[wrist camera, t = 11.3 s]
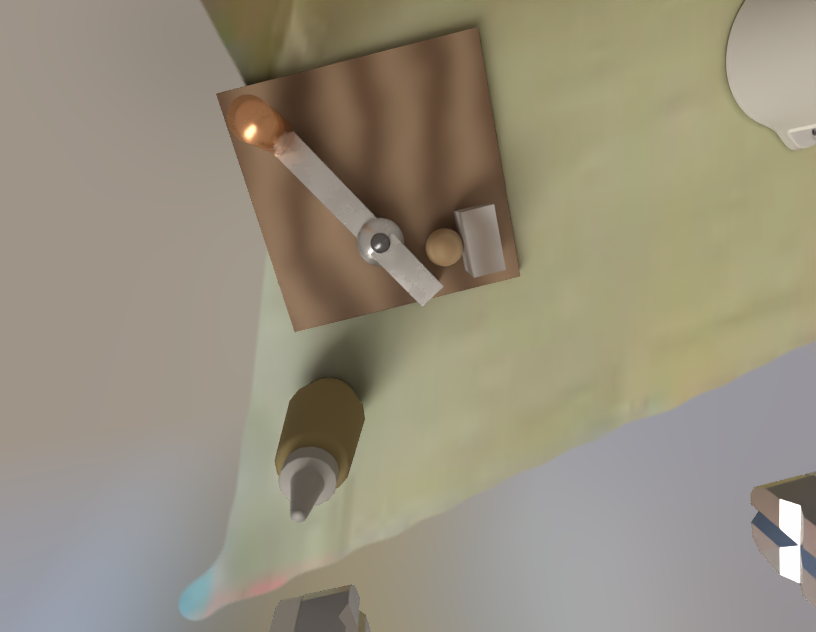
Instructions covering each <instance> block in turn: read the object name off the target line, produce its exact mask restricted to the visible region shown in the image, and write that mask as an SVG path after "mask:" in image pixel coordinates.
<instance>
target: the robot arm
mask: <svg viewBox="0 0 816 632" xmlns="http://www.w3.org/2000/svg"><path fill="white" fill-rule="evenodd" d="M726 69H727V77H728V82H729V86H730V89H731V92H732V94H733V96H734V98H735V100H736V102H737V103H738V105H739V106H740V108H741V109H742V110H743V111H744V112H745V113H746V114H747V115H748V116H749V117H750V118H752V119H753V120H755V121H756V122H758V123H760V124H762V125H765V126H767V127H769V128H771V129H772V130H774V131H775V132H776V133H777V134H778V136H779V137H780V139H781V140H782V141H783V143H784V144H785V145H786V146H787V147H788V148H789V149H791V150H800V149H805V148H808V147H810V146H813V145H815V144H816V0H745V2H744V3H743V5H742V7H741V8H740V10H739V12H738V14H737V16H736V19H735V21H734V23H733V26H732V29H731V32H730V36H729V40H728V46H727V54H726ZM812 130H814V132H813V134H812ZM751 505H753V506H754V507H755V508H756V509H757V510H758V513H757V514H756V516H755V517H754V519H753V520H752V522H751V526H752V537H753V539H754V541H755V543H756V545H757V547H758V550H759V551H760V553H761V554H762V555H763V557H764V558H765V559H766V561H767V562H768V563H769V564H770V565H771V566H772V567H773V568H774V569H775V570H776V571H777V572H778V573H779V574H780V575H782V576H785V577H787V578H789V579H791V580H794V581H796V582H798V583H800V587H801V591H802V595H803V597H805V599H807V600H808V601H809V602H810V603H811V604H812V605H813V606H814V607H815V608H816V472H812V473H808V474H805V475H800V476H796V477H792V478H788V479H784V480H780V481H776V482H773V483H769V484H764V485H760V486H757V487H754V489H753V490H752V492H751ZM359 604H360V597H359V595H358V592H357V589H356V587H355V585H347V586H343V587H338V588H333V589H329V590H324V591H320V592H314V593H310V594H305V595H303V596H298V597H293V598H289V599H284V600H280V602H279V603H278V605H277V606H276V608H275V611H274V615H273V619H272V622H271V626H270V630H269V632H370V627H369V623H368V620H367V617H366V615H365V614H364V613H362V612H361V611H359Z"/></svg>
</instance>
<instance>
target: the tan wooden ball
mask: <svg viewBox="0 0 816 632" xmlns="http://www.w3.org/2000/svg"><path fill="white" fill-rule="evenodd" d="M462 252H463V242H462V239H461V237H460V236H459V235H458V234H457V233H456V232H455V231H453V230H451V229H447V228H442V229H438V230H436V231H434V232H433V233H432V234H431V235H430V236H429V237H428V239H427V242H426V253H427V256H428V258H429V259H430V260H431V261H432V262H433V263H434V264H436V265H439V266H450V265H452V264H454V263H456V262H457V261H458V260H459V259H460V257H461V255H462Z"/></svg>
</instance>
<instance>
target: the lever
mask: <svg viewBox="0 0 816 632" xmlns="http://www.w3.org/2000/svg"><path fill="white" fill-rule="evenodd" d="M227 121H228V125H229V128H230V129H231V131H232V133H233V134H234V135H235V136H236V137H237V138H238V139H240V140H242V141H244V142H246V143H249V144H251V145H253V146H256V147H258V148H261V149H263V150H265V151H268V152H270V153H273V154H274V155H275V156H276V157H277V158H278V159H279V160H280V161H281V162H282V163H283V164H284V165H285V166H286V167H287V168H288V169H289V170H290V171H291V172H292V173H293V174H294V175H295V176H296V177H297V178H298V179H299V180H300V181H301V182H302V183H303V184H304V185H305V186H306V187H307V188H308V189H309V190H310V191H311V192H312V193H313V194H314V195H315V196H316V197H317V198H318V199H319V200H320V201H321V202H322V203H323V204H324V205H325V206H326V207H327V208H328V209H329V210H330V211H331V212H332V213H333V214H334V215H335V216H336V217H337V218H338V219H339V220H340V221H341V222H342V223H343V224H344V225H345V226H346V227H347V228H348V229H349V230H350V232H351V233H352V234H353V235H354V236H355V237H356V238H357V248H358V251H359V253H360V255H361V256H362V258H363V259H364V260H365V261H367V262H368V263H370V264H372V265H375V266H382V267H383V268H384V269H385V270H386V271H387V272H388V273H389V274H390V275H391V276H392V277H393V278H394V279H395V280H396V281H397V282H398V283H399V284H400V285H401V286H402V287H403V288H404V289H405V290H406V291H407V292H408V293H409V294H410V295H411V296H412V297H413V298H414V299H415V300H416V301H417V302H418V303H419V304H420V305H421V306H424V305H425V304H426V303H427V302H428V301H429V300H430V299H431V298H432V297H433V296H434V295H435V294H436V293H437V292H438V291H439V290H441V289H442V288H443V287H444V286H443V285H442V283H441V282H440V281H439V280H438V279H437V278H436V277H435V276H434V274H433V273H432V272H431V271H430V270H429V269H428V268H427V267H426V266H425V265H424V264H423V263H422V262H421V261H420V260H419V259H418V258H417V257H416V256H415V255H414V254H413V253H412V252H411V251H410V250H409V248H408V247H407V246H406V245H405V244H404V237H403V234H402V232H401V230H400V228H399V226H398V225H397V224H396V223H395V222H393V221H392V220H390V219H388V218H383V217H376V216H375V215H374V214H373V213H372V211H371V210H370V209H369V208H368V207H367V206H366V205H365V204H364V203H363V202H362V201H361V200H360V199H359V198H358V197H357V196H356V195H355V194H354V193H353V192H352V191H351V190H350V189H349V188H348V187H347V186H346V184H345V183H344V182H343V181H342V180H341V179H340V178H339V177H338V176H337V175H336V174H335V173H334V172H333V171H332V170H331V169H330V168H329V167H328V166H327V165H326V164H325V163H324V162H323V161H322V160H321V159H320V157H319V156H318V155H317V154H316V153H315V152H314V151H313V150H312V149H311V148H310V147H309V146H308V145H307V144H306V143H305V142H304V141H303V140H302V139H301V138H300V137H299V136H298V135H297V134H296V133H295V131H294V130H293V129H292V127H291V125H290V123H289V122H288V121H287V120H286V119H285V118H284V117H283V116H282V115H280V114H279V113H278V112H277V111H276V110H274V109H273V108H272V107H271V106H269V105H268V104H267V103H266V102H265V101H263V100H262V99H261V98H259V97H257V96H255V95H250V94H245V95H241V96H239V97H237V98H235V99H234V100H233V101H232V102H231V104H230V106H229V108H228V111H227Z"/></svg>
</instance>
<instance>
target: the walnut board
mask: <svg viewBox="0 0 816 632" xmlns="http://www.w3.org/2000/svg"><path fill="white" fill-rule="evenodd" d="M245 94H250V95H255V96H257V97H259V98H261V99H262V100H263V101H265V102H266V103H267V104H268V105H269V106H271V107H272V108H273V109H274V110H276V111H277V112H278V113H279V114H280V115H282V116H283V117H284V118H285V119H286V120H287V121H288V122H289V123H290V125H291V127H292V129H293V130H294V131H295V133H296V134H297V135H298V136H299V137H300V138H301V139H302V140H303V141H304V142H305V143H306V144H307V145H308V146H309V147H310V148H311V149H312V150H313V151H314V152H315V153H316V154H317V155H318V156H319V157H320V159H321V160H322V161H323V162H324V163H325V164H326V165H327V166H328V167H329V168H330V169H331V170H332V171H333V172H334V173H335V174H336V175H337V176H338V177H339V178H340V179H341V180H342V181H343V182H344V183H345V184H346V186H347V187H348V188H349V189H350V190H351V191H352V192H353V193H354V194H355V195H356V196H357V197H358V198H359V199H360V200H361V201H362V202H363V203H364V204H365V205H366V206H367V207H368V208H369V209H370V210H371V211H372V213H373V214H374V215H375V216H376V217H383V218H388V219H390V220H392V221H393V222H395V223H396V224H397V225H398V226H399V228H400V230H401V232H402V234H403V237H404V244H405V245H406V246H407V247H408V248H409V250H410V251H411V252H412V253H413V254H414V255H415V256H416V257H417V258H418V259H419V260H420V261H421V262H422V263H423V264H424V265H425V266H426V267H427V268H428V269H429V270H430V271H431V272H432V273H433V274H434V276H435V277H436V278H437V279H438V280H439V281H440V282H441V283H442V285H443V286H444V287H443V288H442V289H441V290H439V291H438V292H437V293H436V294H435V295H434V296H433V297H432V298H434V297H438V296H442V295H446V294H450V293H454V292H458V291H462V290H466V289H471V288H475V287H479V286H483V285H487V284H491V283H495V282H499V281H503V280H507V279H511V278H515V277H519V276H520V272H519V266H518V260H517V254H516V248H515V242H514V236H513V231H512V225H511V219H510V213H509V207H508V201H507V195H506V190H505V184H504V178H503V172H502V166H501V160H500V155H499V149H498V143H497V137H496V131H495V125H494V119H493V114H492V108H491V102H490V96H489V90H488V84H487V78H486V73H485V67H484V61H483V55H482V49H481V43H480V38H479V32H478V27H475V28H471V29H468V30H464V31H460V32H456V33H452V34H448V35H444V36H440V37H436V38H432V39H428V40H425V41H421V42H417V43H413V44H409V45H405V46H401V47H397V48H393V49H389V50H385V51H381V52H378V53H374V54H370V55H366V56H362V57H358V58H354V59H350V60H346V61H342V62H338V63H335V64H331V65H327V66H323V67H319V68H315V69H311V70H307V71H303V72H299V73H295V74H291V75H288V76H284V77H280V78H276V79H272V80H268V81H264V82H260V83H256V84H252V85H248V86H244V87H241V88H237V89H233V90H229V91H225V92H221V93H218V94H217V98H218V101H219V104H220V107H221V110H222V112H223V116H224V119H225V122H226V125H227V128H228V131H229V134H230V137H231V140H232V143H233V146H234V149H235V152H236V155H237V158H238V161H239V164H240V167H241V170H242V173H243V176H244V179H245V182H246V185H247V188H248V191H249V194H250V198H251V201H252V204H253V207H254V210H255V212H256V216H257V219H258V222H259V225H260V228H261V230H262V234H263V237H264V240H265V243H266V246H267V249H268V252H269V255H270V258H271V261H272V264H273V267H274V270H275V273H276V276H277V279H278V282H279V285H280V289H281V292H282V295H283V298H284V301H285V304H286V307H287V310H288V313H289V316H290V319H291V322H292V325H293V328H294V331H295V332H297V331H301V330H305V329H309V328H313V327H317V326H321V325H325V324H329V323H333V322H337V321H341V320H345V319H349V318H353V317H357V316H361V315H365V314H369V313H373V312H377V311H382V310H386V309H390V308H394V307H398V306H402V305H406V304H410V303H414V302H417V301H416V300H415V299H414V298H413V297H412V296H411V295H410V294H409V293H408V292H407V291H406V290H405V289H404V288H403V287H402V286H401V285H400V284H399V283H398V282H397V281H396V280H395V279H394V278H393V277H392V276H391V275H390V274H389V273H388V272H387V271H386V270H385V269H384V268H383V267H382V266H375V265H372V264H370V263H368V262H367V261H365V260H364V259H363V258H362V256H361V255H360V253H359V251H358V248H357V238H356V237H355V236H354V235H353V234H352V233H351V232H350V230H349V229H348V228H347V227H346V226H345V225H344V224H343V223H342V222H341V221H340V220H339V219H338V218H337V217H336V216H335V215H334V214H333V213H332V212H331V211H330V210H329V209H328V208H327V207H326V206H325V205H324V204H323V203H322V202H321V201H320V200H319V199H318V198H317V197H316V196H315V195H314V194H313V193H312V192H311V191H310V190H309V189H308V188H307V187H306V186H305V185H304V184H303V183H302V182H301V181H300V180H299V179H298V178H297V177H296V176H295V175H294V174H293V173H292V172H291V171H290V170H289V169H288V168H287V167H286V166H285V165H284V164H283V163H282V162H281V161H280V160H279V159H278V158H277V157H276V156H275V155H274V154H273V153H270V152H268V151H265V150H263V149H261V148H258V147H256V146H253V145H251V144H249V143H246V142H244V141H242V140H240V139H238V138H237V137H236V136H235V135H234V134H233V133H232V131H231V129H230V128H229V125H228V121H227V111H228V108H229V106H230V104H231V102H232V101H233V100H234V99H235V98H237V97H239V96H241V95H245ZM442 228H447V229H451V230H453V231H455V232H456V233H457V234H458V235H459V236H460V237H461V239H462V242H463V252H462V255H461V257H460V259H459V260H458V261H457V262H456V263H454V264H452V265H450V266H439V265H436V264H434V263H433V262H432V261H431V260H430V259H429V258H428V256H427V253H426V242H427V239H428V237H429V236H430V235H431V234H432V233H433V232H434V231H436V230H438V229H442Z"/></svg>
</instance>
